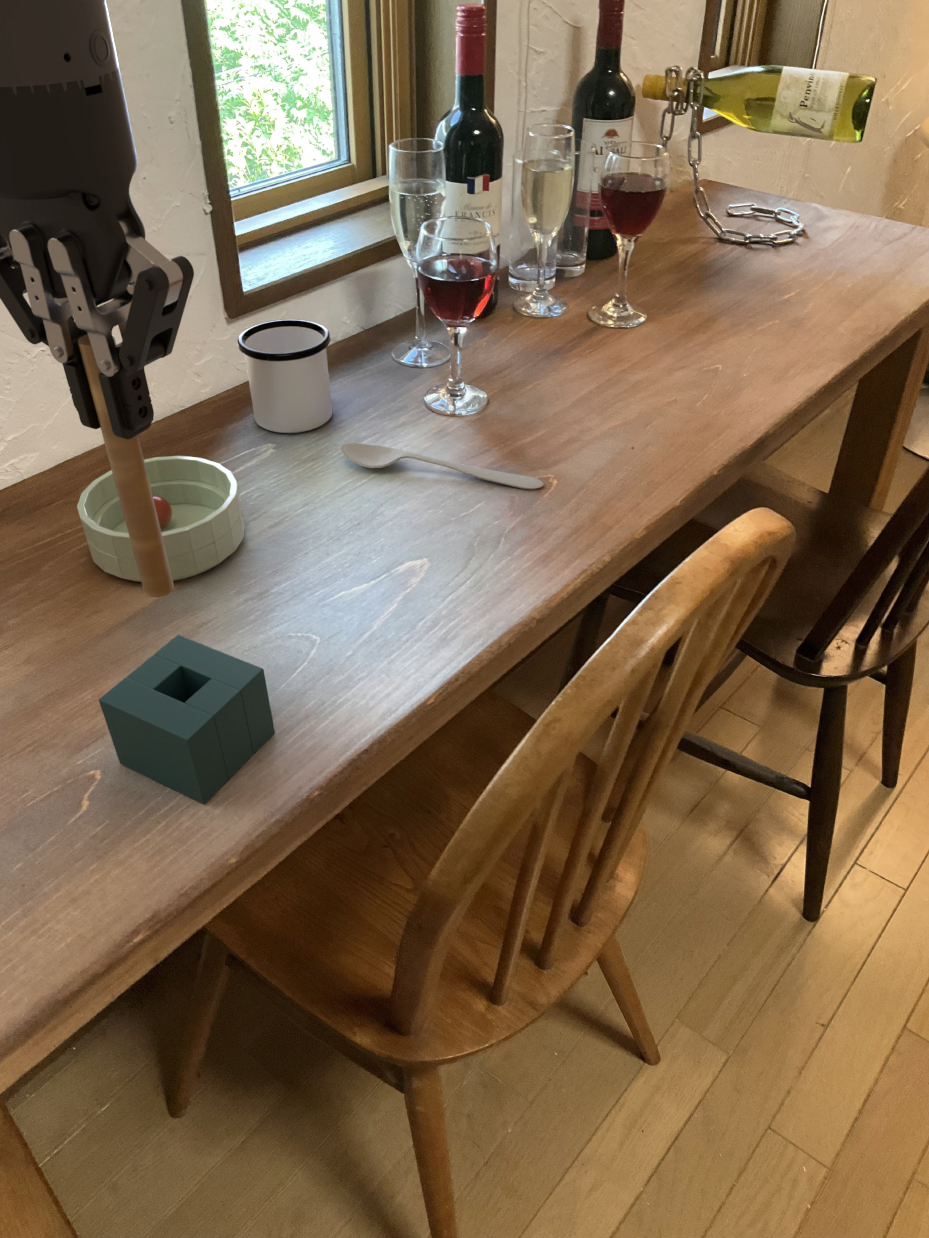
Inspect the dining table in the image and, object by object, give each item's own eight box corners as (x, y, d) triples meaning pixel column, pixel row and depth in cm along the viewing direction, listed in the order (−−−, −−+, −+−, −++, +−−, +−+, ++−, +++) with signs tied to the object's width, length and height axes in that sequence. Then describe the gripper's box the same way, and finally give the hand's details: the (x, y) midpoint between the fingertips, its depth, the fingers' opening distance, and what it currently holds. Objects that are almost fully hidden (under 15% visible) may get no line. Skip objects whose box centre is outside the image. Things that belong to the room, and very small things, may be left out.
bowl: (175, 604, 78) (163, 554, 75) (59, 559, 83) (43, 510, 80) (275, 526, 87) (268, 478, 84) (165, 489, 92) (154, 443, 89)
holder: (204, 805, 62) (187, 740, 58) (119, 763, 65) (98, 699, 61) (275, 732, 67) (263, 668, 63) (193, 697, 70) (178, 633, 66)
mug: (310, 444, 99) (300, 361, 93) (232, 428, 102) (218, 346, 96) (363, 396, 108) (357, 317, 102) (290, 382, 110) (280, 305, 105)
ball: (158, 539, 84) (151, 510, 83) (133, 530, 86) (125, 501, 84) (182, 522, 87) (175, 494, 85) (157, 514, 88) (150, 485, 86)
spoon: (349, 449, 98) (347, 435, 97) (547, 475, 94) (548, 461, 93) (334, 469, 95) (332, 454, 94) (538, 497, 91) (539, 482, 90)
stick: (160, 601, 58) (95, 348, 48) (137, 592, 59) (69, 341, 49) (180, 585, 59) (121, 335, 49) (158, 577, 60) (96, 329, 50)
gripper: (-155, 62, 41) (-25, 427, 52) (74, 93, 36) (165, 491, 47) (-11, 38, 46) (80, 375, 57) (208, 62, 41) (262, 428, 52)
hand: (118, 426), depth 52 cm, fingers closed on stick, 2 cm apart
